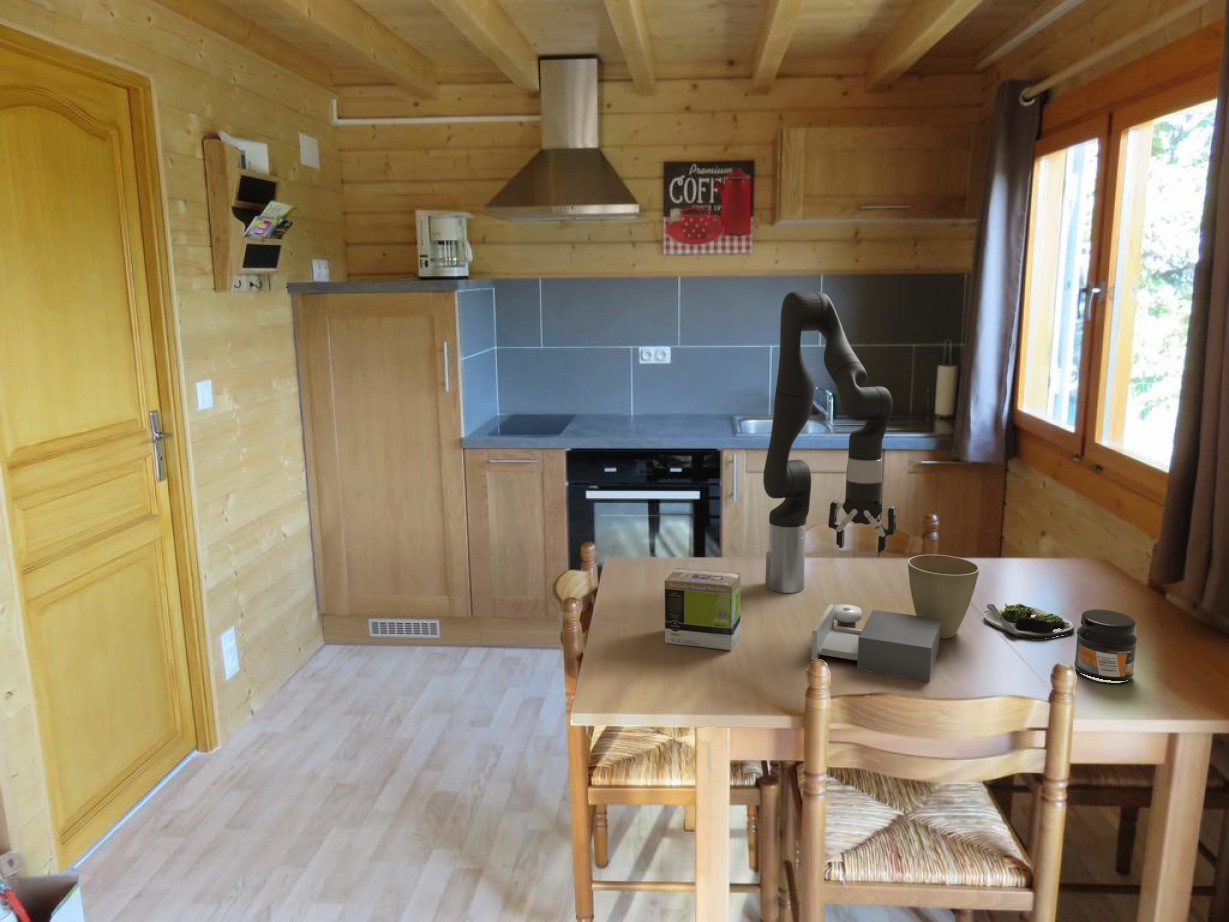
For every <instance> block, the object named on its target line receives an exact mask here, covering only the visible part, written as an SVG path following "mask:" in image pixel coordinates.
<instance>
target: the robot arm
mask: <svg viewBox="0 0 1229 922" xmlns="http://www.w3.org/2000/svg"><path fill="white" fill-rule="evenodd" d="M779 328H780V331H779V333H780V334H779V358H778V359H779V360H778V368H777V379H776V385H775V394H774V403H773V416H772V423H771V433H770V439H769V443H768V450H767V453H766V459H765V463H764V469H763V479H762V480H763V482H762V483H763V488H764V491H765V493H766V495H767V496H768V497H770V498H772V499H784V500H783V501H782V502H781V503H780V504H779V505H778V506H776V507H774V508H773V509H772V510H770V512H769V515H768V517H769V518H768V550H767V552H766V553H765V575H764V576H765V584H764V588H765V589H768V590H771V591H773V592H776V593H784V594H792V593H799V592H801V591H804V589H805V569H806V568H805V565H806V535H807V534H806V530H807V518H808V515H809V511H810V506H811V505H810V502H811V492H812V475H811V474H812V473H811V470H810V467H809V465H808V463H807V462H806V461H804V460H802V459H791V460H789V457H790V453H791V450H792V447H793V444H794V442H795V441H796V439H797V437H798V436H799V435H800V433H801V431H802V430H803V428H804V427H805V425H807V423H808V421H809V419H810V417H811V415H812V410H813V406H814V398H815V383H814V380H813V377H812V374H811V373H810V370H809V368H808V367H807V364H806V363H805V359H804V357H803V355H802V350H801V349H802V347H801V337H802V332H815V331H817V332H819V333H820V334H821V335H822V337H823V338H824V339H825V347H824V353H823V362H824V366H825V369H826V372H828V374H829V376H830V377H831V379H832V381H833V383H834V384H835V385H836V388H837V392H838V396H839V399H840V400H839V401H840V405H841V410H842V412H843V414H844V415H845V416H846V417H847V418H849V419H850V420H851V421H866V422H865V424H864V426H863V427H861V428H859V429H856V430H854V431H852V432H850V434H849V437H848V455H847V456H848V457H847V464H846V471H845V472H846V473H845V474H846V476H845V497H844V498H845V499H844V502H840V501H838V499H834V500H833V501H831V503H830V506H829V513H828V515H829V516H828V528H830V529H833V530H834V531H836V535H835V536H836V538H835V539H836V540H835V543H836V545H837V546H838V548H839V549H843V548H844V547H845V534H846V533H845V532H846V531H845V528H846V527H847V525H848V524H850V522H852V523H853V524H855V525H856V524H862V525H865V526H866V525H867V526H869V525H872V527H873V529H874V530H876V532H877V533H878V535H879V536H878V539H877V540H878V542H877V544H878V545H877V553H879V554H882V553H883V552H884V551H885V550H886V548H887V536H893V535H894V534H895V533H896V531H897V513H896V512H897V508H896V506H894V505H891V506H883V505H882V483H883V477H884V476H883V464H882V463H883V462H882V461H883V460H882V458H883V457H882V456H883V440H884V437H885V434H886V432H887V431H886V430H887V427H888V426H889V425H888V424H889V422H890V419H891V415H892V412H893V402H894V401H893V397H892V395H891V393H890V391H889V389H887V388H886V387H884V386H877V385H876V386H865V384H866V383H867V381H868V373H867V371H866V369H865V366H864V365H863V364H862V362H861V361H860V360H859V357H858V356H857V355H856V354H855V352H854V350H853V348H852V347H851V345H850V343H849V340H848V339H847V335H846V333H845V330H844V328H843V326H842V323H841V320H840V318H839V316H838V313H837V311H836V309H835V305H834V304H833V302H832V300H831V298H830V297H829V296H828V295H827V294H826V293H825V292H822V291H791V292H788V293H787V294H786V295H785V297H784V299H783V301H782V304H781V309H780V327H779ZM864 386H865V387H864ZM841 509H843V511H844V513H845V514H846V516H845V518H844V519H843V520H842V521H841V522H840V523H839V522H837V519H838V512H840V511H841ZM882 513H884V516H885V517H886V518H887V527H888V528H886V527H885V525H884V524H883V521H882V520H881V518H880V517H879V516H880V515H881V514H882Z"/></svg>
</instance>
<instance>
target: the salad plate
mask: <svg viewBox="0 0 1229 922" xmlns="http://www.w3.org/2000/svg"><path fill="white" fill-rule="evenodd" d="M986 607H987V609H988V611H986V612H985V613H984V620H986V622H988V623H989V624H991V625H992V626H994V627H995V628H998V629H1000V630H1002V631H1004V632H1005V631H1006V633H1007V632H1008V633H1007V634H1009V633H1010V634H1009V635H1011V634H1012V635H1011V636H1014V637H1016V636H1018V637H1017V638H1020V637H1022V639H1025V638H1028V639H1027V640H1032V639H1045V638H1052V637H1056V636H1061V635H1066V634H1069V633H1070V634H1072V633H1073V632H1074V631H1075V625H1074V623H1073V622H1072V621H1070V620H1069V619H1066V618H1062V617H1060V616H1058V615H1057V614H1054V613H1050V612H1047V611H1046V610H1043V609H1040V608H1037V607H1032V606H1028V605H1027V606H1026V605H1024V604H1022V603H1017V604H1008V603H1004V608H1001V609H999V608H997V607H996V606H995V604H993V603H987V604H986ZM1031 615H1036V616H1035V617H1031ZM1058 628H1060V629H1062V630H1061V631H1060V632H1057V633H1055V632H1053V630H1054V629H1058ZM1071 632H1072V633H1071ZM1070 634H1069V635H1070ZM1045 640H1046V639H1045Z"/></svg>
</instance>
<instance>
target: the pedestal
mask: <svg viewBox="0 0 1229 922" xmlns="http://www.w3.org/2000/svg"><path fill="white" fill-rule="evenodd" d="M836 622H837V623H836V626H841V627H848V628H855V629H856V627H857V626H856V623H857V622H842V621H838V620H836Z"/></svg>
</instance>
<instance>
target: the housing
mask: <svg viewBox="0 0 1229 922" xmlns="http://www.w3.org/2000/svg"><path fill="white" fill-rule="evenodd" d="M866 620H867V621H866V622H865V623H864V626H863V628H862V631H861V633H860V635H859V638H858V660H856V661H857V665H856V670H857V669H858V670H859V671H862V670H863V671H862V672H868V671H870V672H869V673H874V672H876V674H880V673H882V674H881V675H886V674H888V676H892V675H894V677H899V678H904V677H905V679H911V680H918V681H922V680H924V682H928V681H929V682H931V681H930V680H931V679H932V675H933V671H934V668H935V664H936V660H937V657H938V654H939V651H940V639H941V638H940V622H941V619H937V618H929V617H922V616H916V614H915V615H913V614H907V613H901V612H900V613H899V612H892V611H891V612H890V611H885V610H879V609H872V610H871V613H870V614H869V617H868V618H867V619H866ZM858 670H857V671H858Z"/></svg>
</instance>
